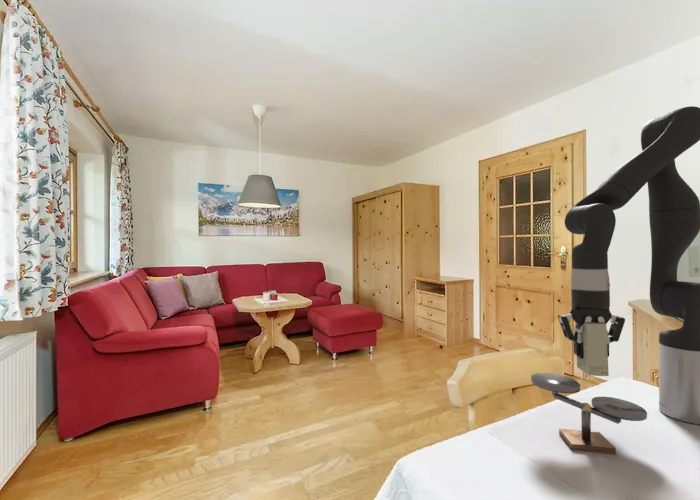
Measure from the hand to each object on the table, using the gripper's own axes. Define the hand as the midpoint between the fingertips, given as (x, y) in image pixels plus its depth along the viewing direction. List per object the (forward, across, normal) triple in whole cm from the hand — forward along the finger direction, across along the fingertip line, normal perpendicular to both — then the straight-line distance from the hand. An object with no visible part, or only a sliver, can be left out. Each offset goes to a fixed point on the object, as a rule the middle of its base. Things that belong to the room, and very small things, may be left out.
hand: (591, 357), depth 80 cm
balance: (+15, +6, +11) cm, 20 cm away
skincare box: (+4, 0, 0) cm, 4 cm away
